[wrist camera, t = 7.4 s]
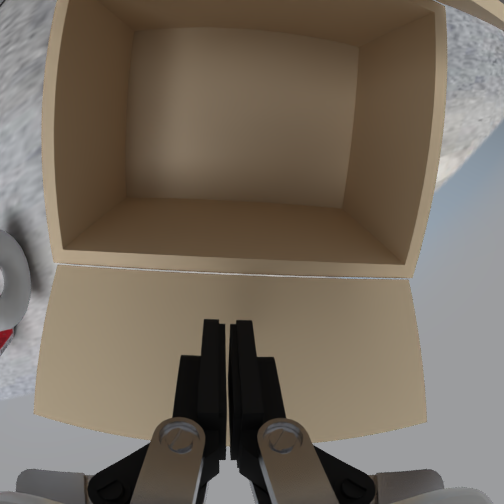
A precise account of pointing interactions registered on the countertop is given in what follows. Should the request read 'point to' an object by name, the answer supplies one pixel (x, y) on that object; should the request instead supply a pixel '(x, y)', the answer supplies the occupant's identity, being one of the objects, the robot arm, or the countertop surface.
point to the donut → (13, 282)
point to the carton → (243, 134)
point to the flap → (228, 311)
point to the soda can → (5, 339)
